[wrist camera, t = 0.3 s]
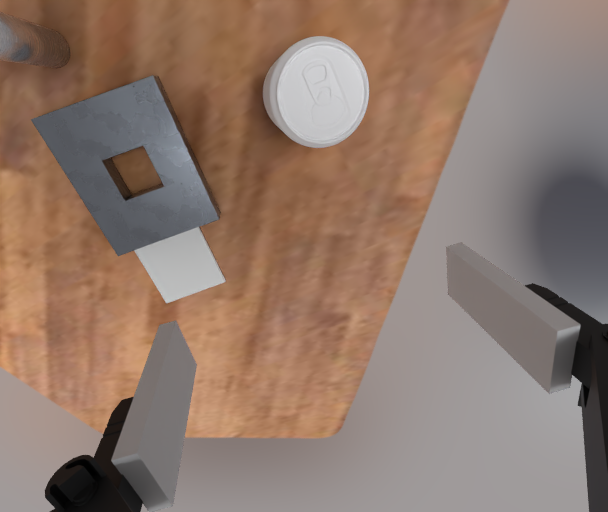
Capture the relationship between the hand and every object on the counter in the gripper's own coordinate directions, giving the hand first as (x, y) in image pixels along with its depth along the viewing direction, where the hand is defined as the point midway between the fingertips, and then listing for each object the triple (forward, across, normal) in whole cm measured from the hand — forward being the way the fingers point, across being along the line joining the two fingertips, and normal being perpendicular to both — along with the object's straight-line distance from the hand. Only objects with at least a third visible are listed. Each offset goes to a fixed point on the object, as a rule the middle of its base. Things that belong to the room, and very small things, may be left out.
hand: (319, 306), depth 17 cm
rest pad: (+27, -14, -7) cm, 31 cm away
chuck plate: (+27, -14, +5) cm, 31 cm away
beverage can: (+27, +5, +8) cm, 29 cm away
